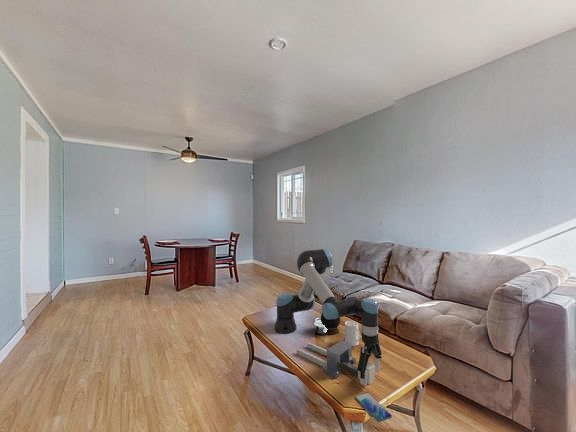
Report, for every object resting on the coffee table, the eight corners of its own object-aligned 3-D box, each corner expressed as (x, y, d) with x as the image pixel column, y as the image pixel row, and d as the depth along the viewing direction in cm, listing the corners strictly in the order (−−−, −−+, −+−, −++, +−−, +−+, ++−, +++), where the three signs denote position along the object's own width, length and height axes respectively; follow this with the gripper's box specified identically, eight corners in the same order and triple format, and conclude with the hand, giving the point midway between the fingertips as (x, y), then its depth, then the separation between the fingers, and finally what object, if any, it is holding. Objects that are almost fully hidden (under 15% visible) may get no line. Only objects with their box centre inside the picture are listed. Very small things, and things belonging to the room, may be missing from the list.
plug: (340, 370, 134) (340, 356, 134) (345, 366, 137) (345, 352, 137) (369, 384, 122) (369, 369, 122) (374, 379, 126) (374, 365, 126)
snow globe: (316, 330, 179) (316, 308, 178) (329, 325, 187) (329, 304, 187) (331, 337, 168) (331, 314, 168) (344, 331, 177) (344, 309, 177)
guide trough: (296, 353, 150) (296, 349, 150) (308, 346, 158) (308, 342, 158) (328, 369, 135) (328, 364, 135) (340, 360, 143) (340, 355, 143)
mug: (365, 347, 156) (365, 326, 156) (353, 350, 153) (353, 329, 153) (353, 338, 167) (353, 319, 167) (341, 340, 164) (341, 321, 164)
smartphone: (367, 391, 117) (392, 416, 103) (367, 393, 117) (392, 418, 103) (354, 395, 114) (377, 421, 100) (354, 397, 114) (377, 423, 100)
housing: (322, 371, 133) (322, 351, 132) (342, 356, 146) (342, 337, 146) (335, 378, 127) (335, 357, 127) (355, 362, 141) (355, 342, 141)
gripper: (364, 345, 113) (365, 394, 113) (388, 326, 131) (388, 369, 131) (349, 339, 118) (349, 386, 119) (374, 322, 136) (374, 363, 136)
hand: (370, 377), depth 125 cm, fingers open, 13 cm apart
